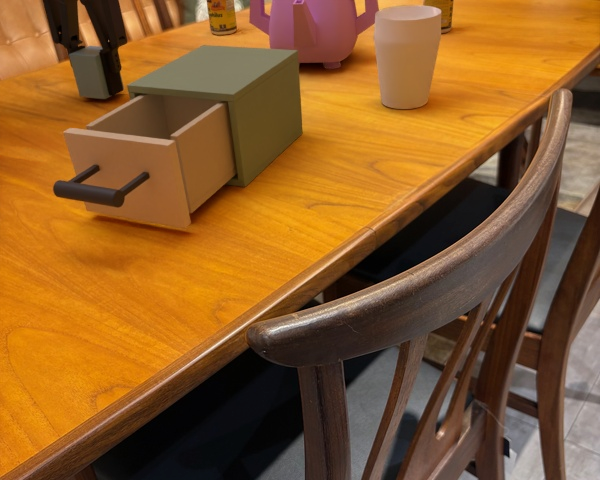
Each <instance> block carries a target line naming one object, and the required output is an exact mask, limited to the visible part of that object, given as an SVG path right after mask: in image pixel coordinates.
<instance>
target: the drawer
mask: <svg viewBox="0 0 600 480" xmlns="http://www.w3.org/2000/svg"><path fill="white" fill-rule="evenodd" d="M85 128H86V129H84V128H76V127H69V128H67V129H66V130H64V131H62V134H63V137H64V141H65V143H66V147H67V151H68V153H69V157H70V160H71V163H72V166H73V170H74V174H75V176H74V177H72V178H71V179H69V180H61V179H59V180H57V181H55V182H54V183H53V187H52V191H53V194H54V196H56V198H60V199H67V200H73V201H78V202H84V207H85V208H86V212H91V213H95V214H100V215H101V214H102V215H107V216H112V217H117V218H123V219H129V220H135V221H141V222H144V223H145V222H146V223H150V224H157V225H161V226H167V227H173V228H179V229H184V230H185V229H186V228H188V227H189V226H190V225H191V223H192V221H191V217H190V214H193V213H194V212H195V211H196V210H198V208H200V207H201V206H202V205H203V204H204V203H206V201H208V199H210V198H211V197H212V196H213V195H214V194H216V192H218V191H219V190H220V189H221V188H222V187H223V186H225V185H226V184H225V183H227V182H228V181H229V180H230V179H231V178H232V177H233V176H234V175H236V174H237V166H236V158H235V151H234V143H233V136H232V128H231V121H230V113H229V106H228V101H220V100H209V99H198V98H188V97H177V96H166V95H155V94H144V93H143V94H141V95H139V96H138V97H136V98H134V99H132V100H130V99H129V101H127V102H125V103H123V104H122V105H120V106H118V107H116V108H114V109H112V110H110V111H109V112H107V113H105V114H103V115H102V116H100V117H98V118H96V119H95V120H93V121H91V122H90V123H88V124H85Z"/></svg>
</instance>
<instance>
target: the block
mask: <svg viewBox="0 0 600 480" xmlns="http://www.w3.org/2000/svg"><path fill="white" fill-rule="evenodd" d="M101 49H103V48H102V46H97V45H88V46H85V48H83V49H81V50H78V51H76V52H73V53H71V54H69V56H68V58H69V57H70V59H69V62H70V61H71V64H70V66H71V65H72V67H71V69H72V72H73V76H74V79H75V84H76V87H77V91H78V95H79V97H80V98H81V97H82V98H89V99H90V98H91V99H98V100H107V99H109V98H110V97H111V96H110V95H109V92H108V88H107V84H106V79H105V75H104V71H103V67H102V62H101V58H100V54H99V52H100V50H101ZM119 73H120V77H121V82H122V86H123V91H125V87H124V84H123V83H124V82H123V78H122V73H121V71H119Z"/></svg>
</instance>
